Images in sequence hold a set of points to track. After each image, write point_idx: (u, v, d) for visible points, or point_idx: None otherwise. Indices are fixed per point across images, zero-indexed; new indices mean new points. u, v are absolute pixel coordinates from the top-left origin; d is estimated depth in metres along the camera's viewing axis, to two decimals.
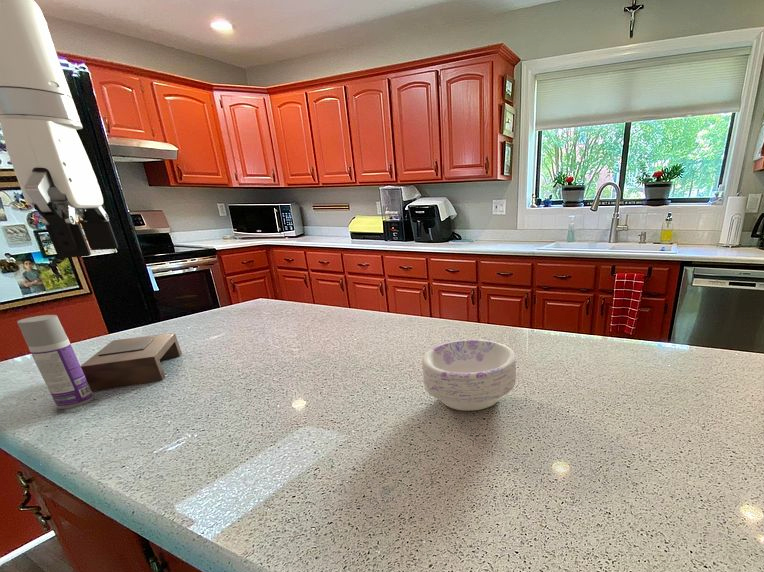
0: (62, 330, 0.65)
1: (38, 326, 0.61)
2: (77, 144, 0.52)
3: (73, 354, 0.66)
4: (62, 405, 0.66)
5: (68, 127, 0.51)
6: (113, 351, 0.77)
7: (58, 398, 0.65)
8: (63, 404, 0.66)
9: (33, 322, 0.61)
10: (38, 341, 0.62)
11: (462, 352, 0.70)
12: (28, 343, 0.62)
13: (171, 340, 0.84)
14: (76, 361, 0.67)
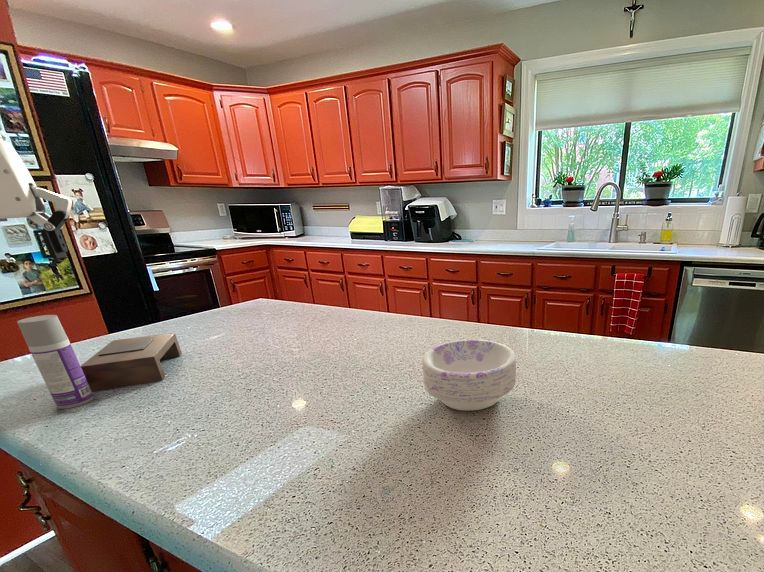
0: (62, 330, 0.65)
1: (38, 326, 0.61)
2: None
3: (73, 354, 0.66)
4: (62, 405, 0.66)
5: None
6: (113, 351, 0.77)
7: (58, 398, 0.65)
8: (63, 404, 0.66)
9: (33, 322, 0.61)
10: (38, 341, 0.62)
11: (462, 352, 0.70)
12: (28, 343, 0.62)
13: (171, 340, 0.84)
14: (76, 361, 0.67)
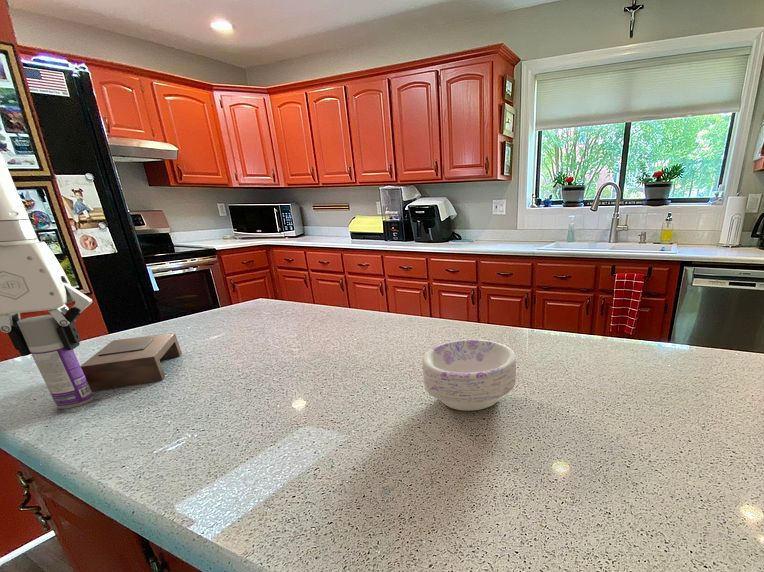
0: None
1: (38, 326, 0.61)
2: None
3: (73, 354, 0.66)
4: (62, 405, 0.66)
5: None
6: (113, 351, 0.77)
7: (58, 398, 0.65)
8: (63, 404, 0.66)
9: (33, 322, 0.61)
10: (38, 341, 0.62)
11: (462, 352, 0.70)
12: (28, 343, 0.62)
13: (171, 340, 0.84)
14: (76, 361, 0.67)
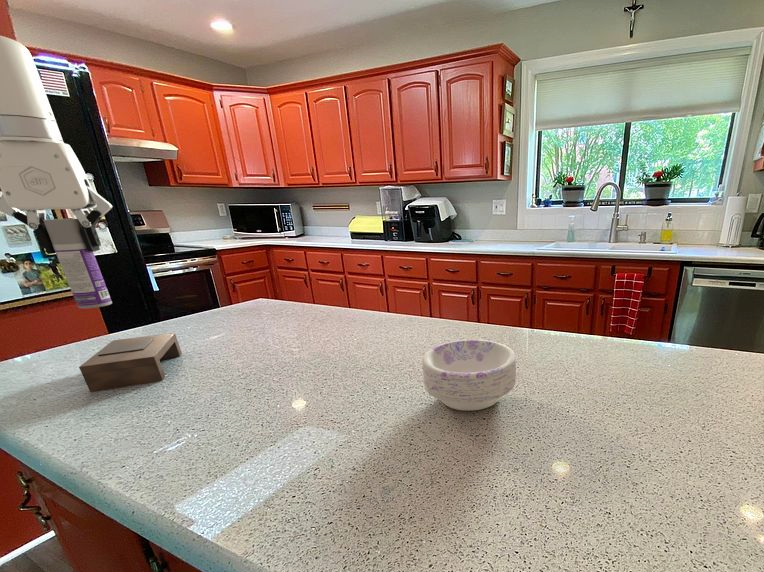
0: None
1: (62, 224, 0.66)
2: None
3: (94, 257, 0.71)
4: (83, 305, 0.71)
5: None
6: (113, 351, 0.77)
7: (80, 297, 0.70)
8: (84, 304, 0.70)
9: (58, 220, 0.66)
10: (62, 239, 0.66)
11: (462, 352, 0.70)
12: (53, 241, 0.66)
13: (171, 340, 0.84)
14: (96, 264, 0.71)
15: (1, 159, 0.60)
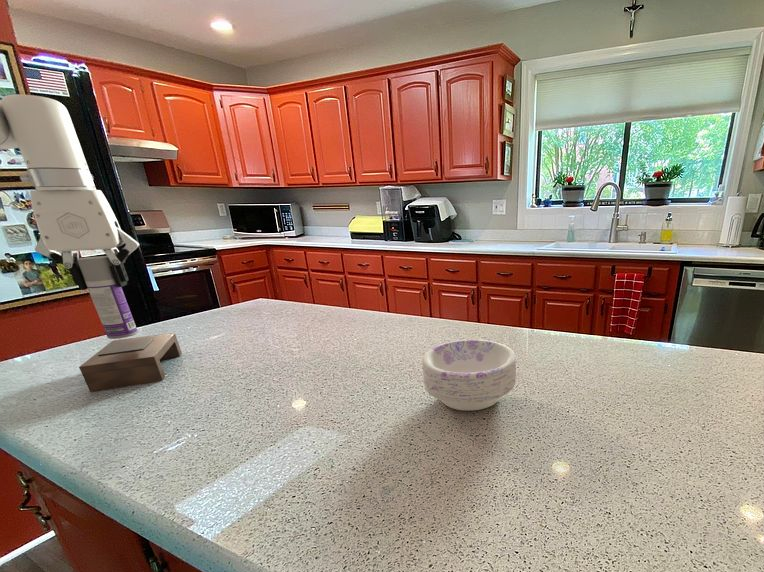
0: None
1: (95, 263, 0.71)
2: None
3: (122, 291, 0.76)
4: (112, 336, 0.76)
5: None
6: (113, 351, 0.77)
7: (109, 329, 0.75)
8: (113, 335, 0.76)
9: (91, 259, 0.71)
10: (94, 277, 0.72)
11: (462, 352, 0.70)
12: (86, 278, 0.72)
13: (171, 340, 0.84)
14: (124, 298, 0.77)
15: (41, 207, 0.66)
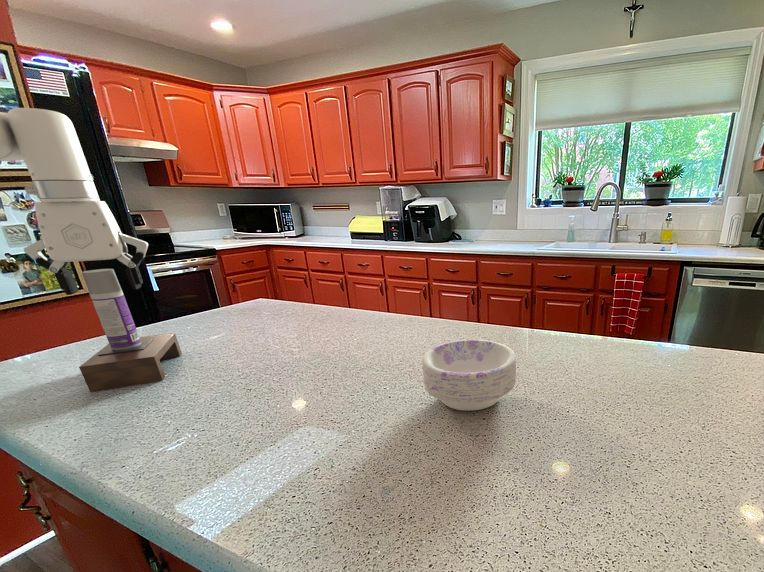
0: (117, 282, 0.75)
1: (99, 276, 0.72)
2: None
3: (126, 303, 0.77)
4: (116, 347, 0.77)
5: None
6: (113, 351, 0.77)
7: (113, 340, 0.76)
8: (117, 346, 0.77)
9: (95, 272, 0.72)
10: (99, 289, 0.73)
11: (462, 352, 0.70)
12: (90, 291, 0.73)
13: (171, 340, 0.84)
14: (128, 310, 0.77)
15: (45, 218, 0.67)
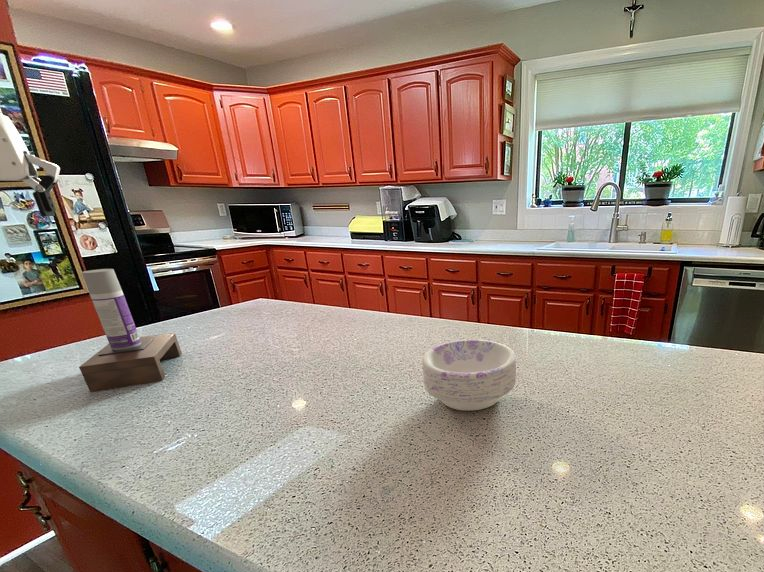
0: (117, 282, 0.75)
1: (99, 276, 0.72)
2: None
3: (126, 303, 0.77)
4: (116, 347, 0.77)
5: None
6: (113, 351, 0.77)
7: (113, 340, 0.76)
8: (117, 346, 0.77)
9: (95, 272, 0.72)
10: (99, 289, 0.73)
11: (462, 352, 0.70)
12: (90, 291, 0.73)
13: (171, 340, 0.84)
14: (128, 310, 0.77)
15: None
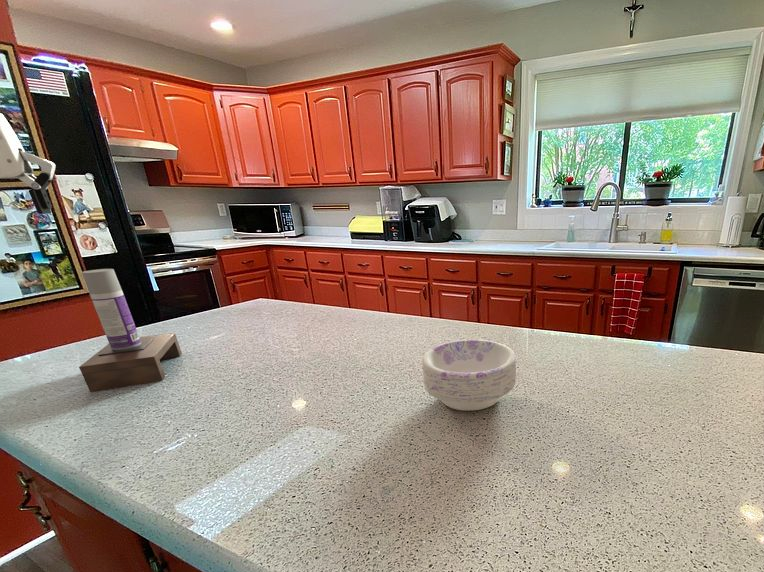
0: (117, 282, 0.75)
1: (99, 276, 0.72)
2: None
3: (126, 303, 0.77)
4: (116, 347, 0.77)
5: None
6: (113, 351, 0.77)
7: (113, 340, 0.76)
8: (117, 346, 0.77)
9: (95, 272, 0.72)
10: (99, 289, 0.73)
11: (462, 352, 0.70)
12: (90, 291, 0.73)
13: (171, 340, 0.84)
14: (128, 310, 0.77)
15: None
